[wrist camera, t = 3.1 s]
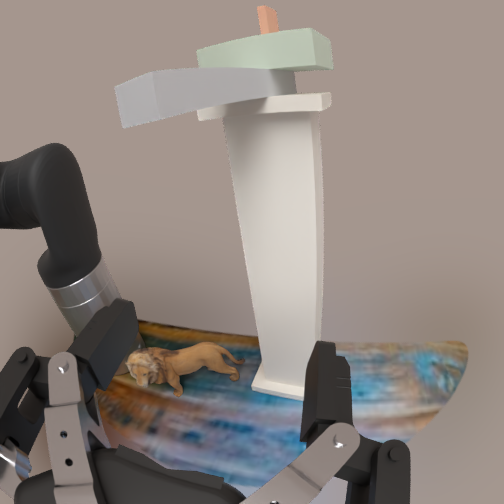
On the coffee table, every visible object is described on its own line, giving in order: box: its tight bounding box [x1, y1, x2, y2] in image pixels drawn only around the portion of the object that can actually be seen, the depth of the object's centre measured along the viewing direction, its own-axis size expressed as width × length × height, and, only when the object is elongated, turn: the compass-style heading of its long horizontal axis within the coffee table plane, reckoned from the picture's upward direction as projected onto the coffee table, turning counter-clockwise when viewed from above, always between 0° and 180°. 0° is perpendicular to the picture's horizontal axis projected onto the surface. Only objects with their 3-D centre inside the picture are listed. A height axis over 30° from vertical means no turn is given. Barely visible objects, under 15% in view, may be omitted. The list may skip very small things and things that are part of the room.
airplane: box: [115, 5, 334, 128], centre depth 12 cm, size 8×14×7 cm, turn 153°
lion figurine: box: [125, 342, 245, 397], centre depth 34 cm, size 15×5×9 cm, turn 116°
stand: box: [197, 93, 332, 401], centre depth 26 cm, size 9×6×32 cm, turn 70°
